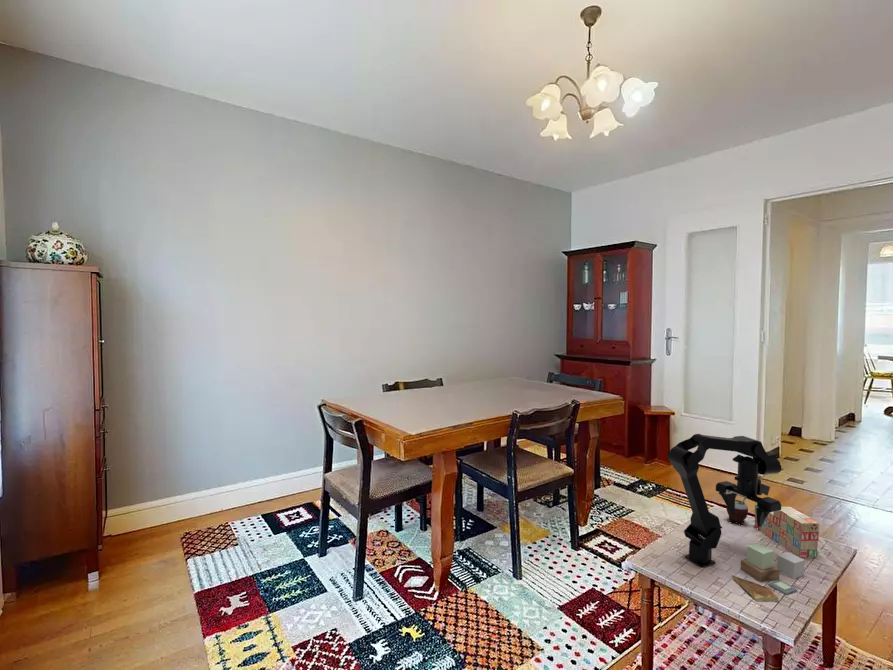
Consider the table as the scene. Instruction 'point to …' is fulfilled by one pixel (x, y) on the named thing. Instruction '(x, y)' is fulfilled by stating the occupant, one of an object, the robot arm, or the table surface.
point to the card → (782, 587)
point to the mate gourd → (739, 512)
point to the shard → (756, 590)
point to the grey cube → (790, 564)
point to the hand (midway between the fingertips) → (745, 520)
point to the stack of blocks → (792, 531)
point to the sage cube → (760, 556)
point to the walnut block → (759, 572)
